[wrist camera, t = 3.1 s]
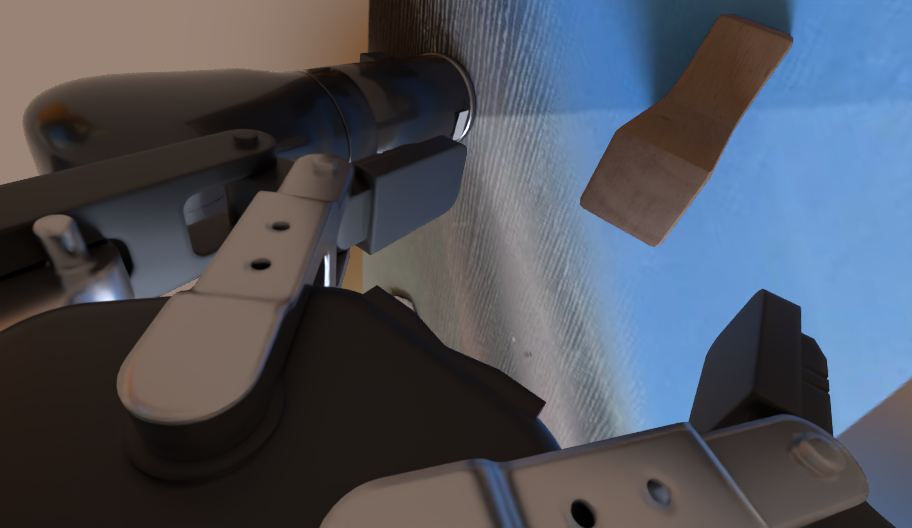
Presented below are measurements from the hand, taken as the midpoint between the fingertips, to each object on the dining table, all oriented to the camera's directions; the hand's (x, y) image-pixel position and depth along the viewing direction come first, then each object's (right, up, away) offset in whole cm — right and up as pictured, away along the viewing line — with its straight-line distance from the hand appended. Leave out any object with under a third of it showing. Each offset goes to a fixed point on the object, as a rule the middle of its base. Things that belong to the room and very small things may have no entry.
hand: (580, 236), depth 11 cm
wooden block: (+16, +12, +20) cm, 28 cm away
